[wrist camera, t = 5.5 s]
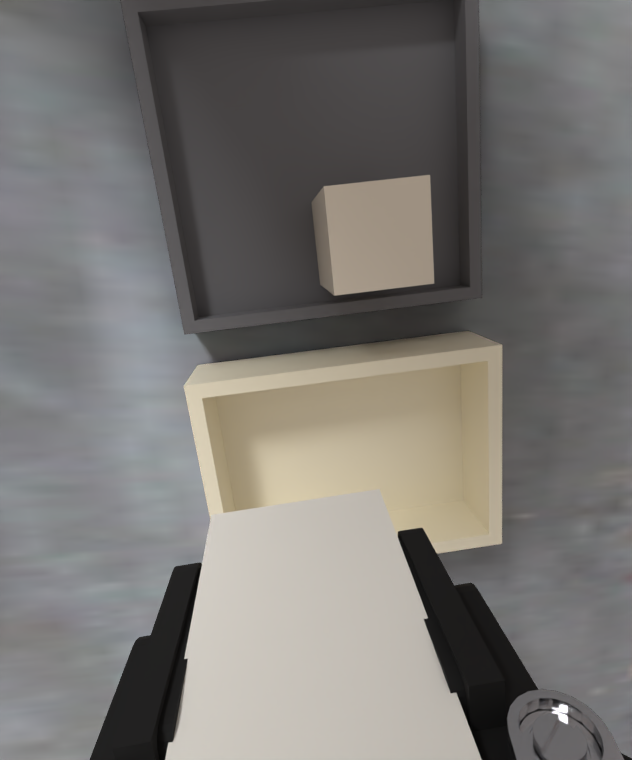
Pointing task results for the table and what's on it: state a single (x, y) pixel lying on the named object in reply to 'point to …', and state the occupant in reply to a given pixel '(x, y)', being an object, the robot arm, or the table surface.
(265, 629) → the stone
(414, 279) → the stone
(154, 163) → the pan
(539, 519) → the table surface
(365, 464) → the tub
